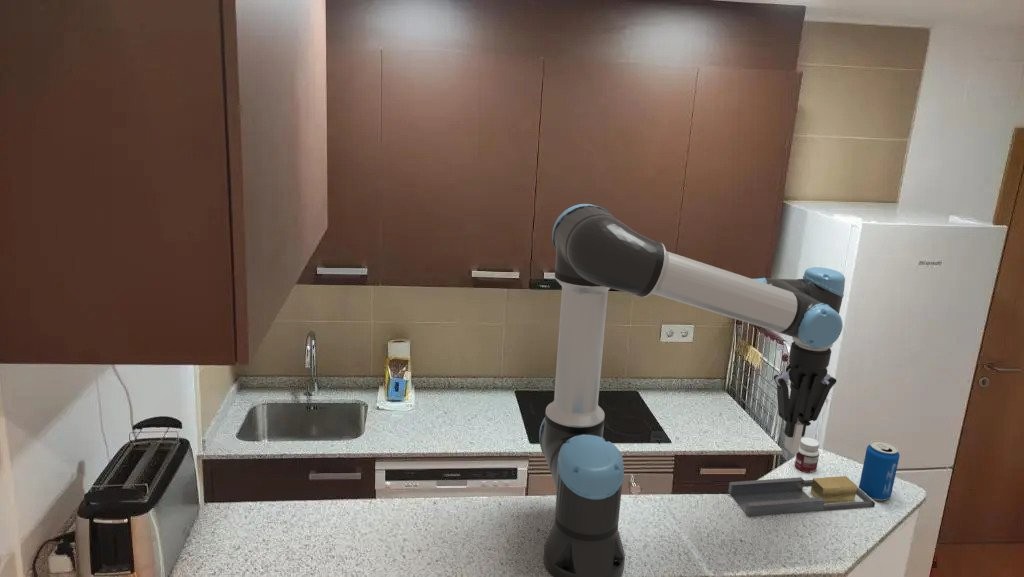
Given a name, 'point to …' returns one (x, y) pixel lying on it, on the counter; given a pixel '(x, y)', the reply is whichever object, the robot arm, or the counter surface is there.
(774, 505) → the slot rail
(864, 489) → the beverage can
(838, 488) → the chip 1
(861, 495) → the tray
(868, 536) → the counter surface
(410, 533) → the counter surface
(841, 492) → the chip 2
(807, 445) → the pill bottle
